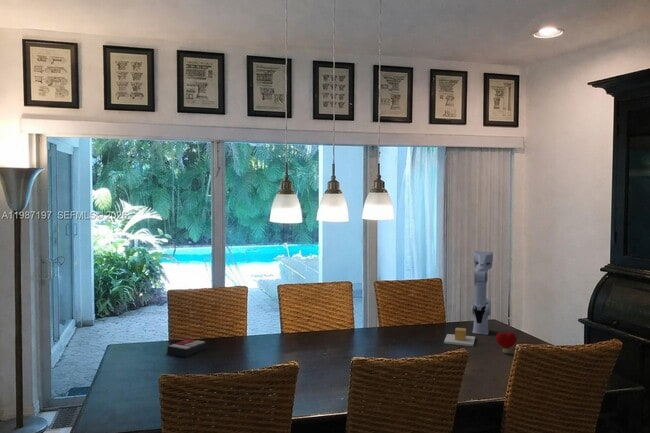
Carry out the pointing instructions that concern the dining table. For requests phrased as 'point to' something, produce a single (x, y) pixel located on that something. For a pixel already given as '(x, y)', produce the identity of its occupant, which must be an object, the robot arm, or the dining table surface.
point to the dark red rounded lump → (506, 340)
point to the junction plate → (451, 340)
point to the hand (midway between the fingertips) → (479, 321)
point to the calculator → (186, 347)
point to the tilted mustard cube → (460, 334)
